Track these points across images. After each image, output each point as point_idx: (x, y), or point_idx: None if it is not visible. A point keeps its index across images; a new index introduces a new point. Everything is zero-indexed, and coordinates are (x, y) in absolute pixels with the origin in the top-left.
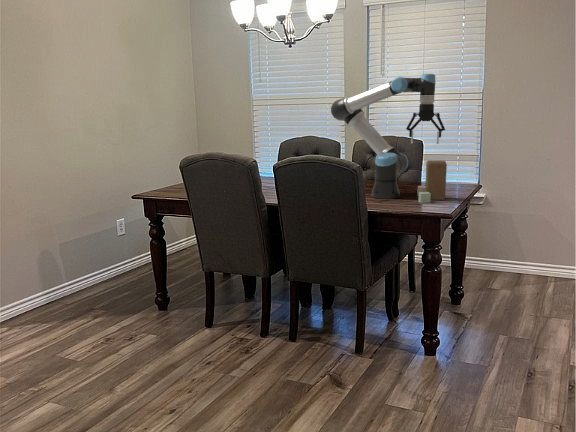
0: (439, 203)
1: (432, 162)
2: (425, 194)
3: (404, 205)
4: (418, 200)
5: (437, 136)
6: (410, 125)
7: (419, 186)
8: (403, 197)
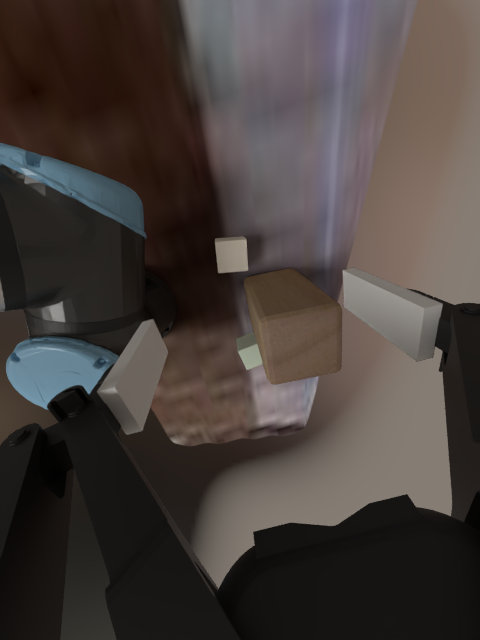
0: None
1: (289, 379)
2: (257, 364)
3: (217, 389)
4: (236, 340)
5: (380, 330)
6: (66, 521)
7: (220, 254)
8: (187, 301)
